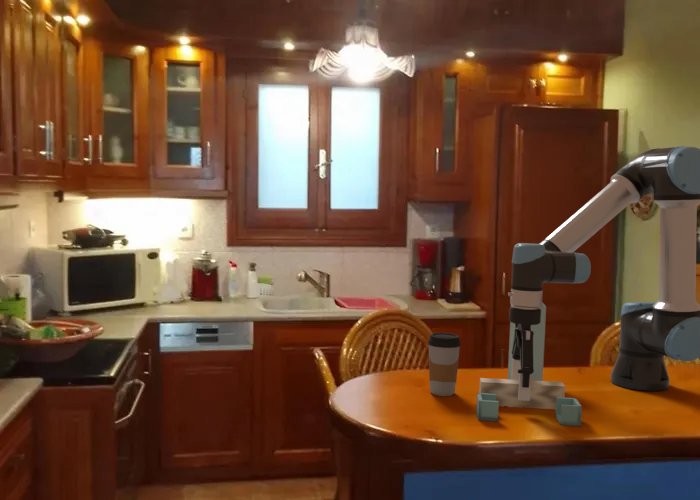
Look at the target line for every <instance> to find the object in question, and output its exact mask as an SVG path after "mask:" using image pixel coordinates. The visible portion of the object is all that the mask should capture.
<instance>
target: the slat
mask: <svg viewBox="0 0 700 500" xmlns="http://www.w3.org/2000/svg"><path fill="white" fill-rule="evenodd" d="M518 391H519V380H512V379H508V378H489V377H486V378H485V377H479V392H478V393H487V394H496V401H499V407H504V406H508V407H507V408H523V407H525V408H524V409H526V408H527V409H541V410H542V409H543V410H544V409H545V410H546V409H547V410H556V398H557V397H561V398H566V386H565V384H564V383H563V382H562V381H548V380H543V381H531V394H530V401H524V400H518Z"/></svg>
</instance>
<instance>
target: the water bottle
mask: <svg viewBox="0 0 700 500" xmlns="http://www.w3.org/2000/svg"><path fill="white" fill-rule="evenodd" d="M511 306H512V305H511V304H510V307H511ZM539 308H540V310H541V321H540V323H539V324H537V325H531V331H533V333H534V335H533V370H534V372H533V373H532V378H531V381H544V380H543V376H544V360H545V359H544V356H545V340H546V339H545V337H546V319H547V318H546V316H547V315H546V314H547V305H546V304H545V303H544V302H543V301H542V306H541V307H539ZM509 323H510V324H509V340H508V341H509V343H508V344H509V345H508V364H507V379H511V378H512V361H513V360H514V359H513V357H512V348H513V341H514V333H515V323H512V322H510V321H509ZM526 368H528V367H526Z"/></svg>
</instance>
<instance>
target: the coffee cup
mask: <svg viewBox="0 0 700 500" xmlns="http://www.w3.org/2000/svg"><path fill="white" fill-rule="evenodd" d="M429 336H430V337H429V338H428V343H427V344H428V373H429V374H428V375H429V376H428V377H429V391H430V392H431V394H432V395H435V396H440V397H450V396H453V395H454V394H455V392H456V386H457V385H456V384H457V379H458V369H459V362H460V361H459V359H460V358H459V356H460V347H461V340H460V337H459V335H458V334H454V333H451V332H450V333H448V332H433V333H431V334H430V335H429Z"/></svg>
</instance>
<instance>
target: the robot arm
mask: <svg viewBox="0 0 700 500" xmlns="http://www.w3.org/2000/svg"><path fill="white" fill-rule="evenodd" d="M652 194H653V202H654V203H655V204H656V205H657V206H658V207H659V249H658V250H659V255H658V256H659V258H658V259H659V262H658V263H659V264H658V265H659V266H658V267H659V270H658V273H659V275H658V276H659V278H658V279H659V281H658V299H657V301H656V302H650V301H646V302H645V301H641V302H639V301H635V302H634V301H633V302H631V301H630V302H625V303H624V304H623V305H622V307H621V311H620V312H621V313H620V316H619V317H620V324H619V325H620V326H619V327H620V328H619V345H618V346H619V348H618V356H617V358H616V361H615V363H614V366H613V368H612V370H611V372H610V373H611V374H610V382H611V383H612V384H614V385H616V386H619V387H621V388H624V389H630V390H637V391H646V392H660V391H661V392H662V391H666V390H668V389H669V388H670V376H669V374H668V369H667V365H666V362H665V357H668V358H670V359H672V360H675V361H682V362H693V361H695V360H697V359H700V304H699V303H698V301H696V300H697V299H696V298H697V297H696V295H697V294H696V293H697V292H696V291H697V289H696V285H697V283H696V281H697V276H696V275H697V221H698V220H697V214H698V212H697V209H698V206H699V205H700V148H699V147H695V146H684V145H682V146H681V145H680V146H675V147H674V146H673V147H665V148H658V147H657V148H651V149H649V150H647V151H644V152H642V153H640V154H639V155H637V156H635V157H633V159H631V160H630V161H628V162H627V163H626V164H625V165H623V166H622V167H621V168H620V169H619V170H618V171H616V173H614V174H613V175H612V176H611V177H610V182H609V183H608V184H607V185H606V186H605V187H604V188H602V190H600V191H599V192H598V193H597V194H595V195H594V196H593V197H592V198H590V200H588V201H587V202H586V203H584V205H582V206H581V208H579V209H578V210H577V211H576V212H575V213H574V214H572V215H571V216H570V217H569V218H568V219H566V220H565V221H564V222H563V223H561V225H559V226H558V227H557V228H556V229H555V230H554V231H552V233H551V234H549V235H547V237H545V239H543V240H542V241H541V242H540V243H526V242H519V243H516V244H515V245H514V247H513V249H512V250H513V251H512V257H511V258H512V259H511V280H510V282H511V283H510V291H511V292H507V296H508V297H510V298H509V300H510V301H509V302H510V303H509V304H510V307H509V310H508V311H509V312H508V313H509V314H508V320H509V321H508V322H509V323H510V322H512V323H515V333H514V341H513V348H512V357H513V359H514V360H513V361H512V378H511V379H512V380H519V391H518V400H524V401H530V394H531V378H532V373H533V372H534V370H533V335H534V333H533V331H531V325H537V324H539V323H540V321H541V310H540V308H539V307H541V306H542V302H543V291H544V290H543V286H544V284H549V283H550V284H572V285H574V284H583V283H585V282H587V281H588V280H589V278H590V276H591V270H592V264H591V261H590V258H589V257H588V255H586V254H585V253H580V252H575V251H576V250H577V249H578V248H580V247H581V246H582V245H583V244H585V243H586V242H587V241H588V240H589V239H591V238H592V237H593V236H595V234H596V233H597V232H599V231H600V230H601V229H603V227H604V226H605V225H607V224H608V223H609V222H610V221H611V220H613V219H614V218H615V217H616V216H617V215H618V214H620V212H622V211H623V210H624V209H625V208H627V207H628V206H629V205H630V204H637V203H639V201H641V200H642V199H643V198H645V197H647V196H649V195H652ZM511 305H512V306H511ZM526 367H528V368H526Z"/></svg>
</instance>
